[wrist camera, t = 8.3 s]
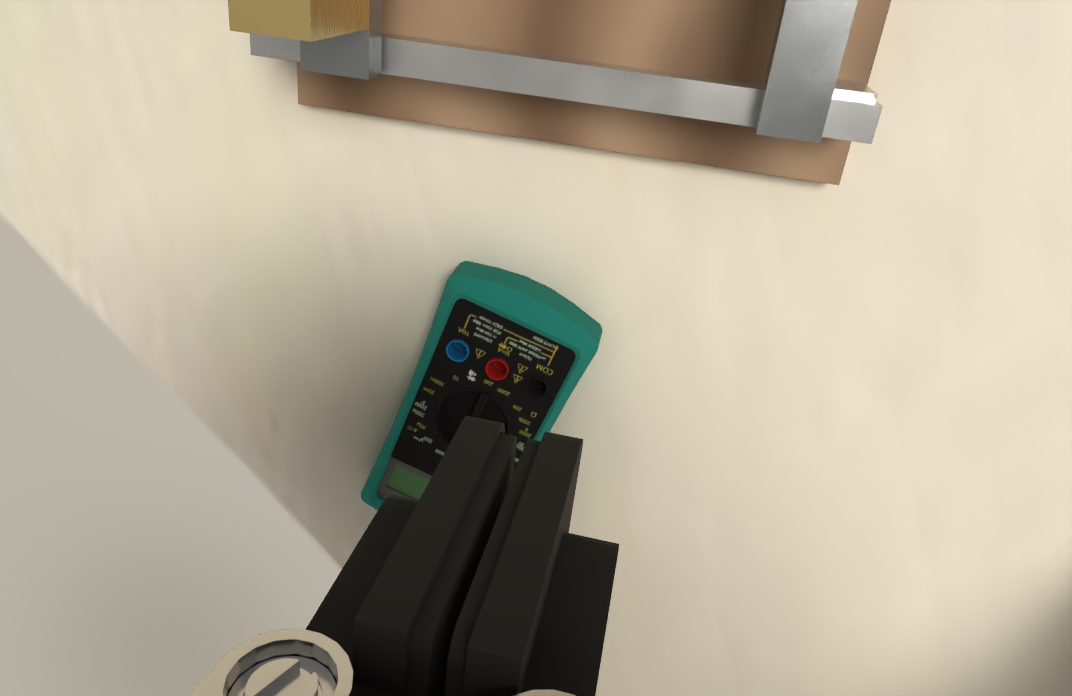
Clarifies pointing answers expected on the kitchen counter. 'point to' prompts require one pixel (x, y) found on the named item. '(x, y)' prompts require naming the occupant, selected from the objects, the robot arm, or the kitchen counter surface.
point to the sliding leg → (320, 31)
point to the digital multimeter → (484, 372)
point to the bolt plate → (629, 76)
